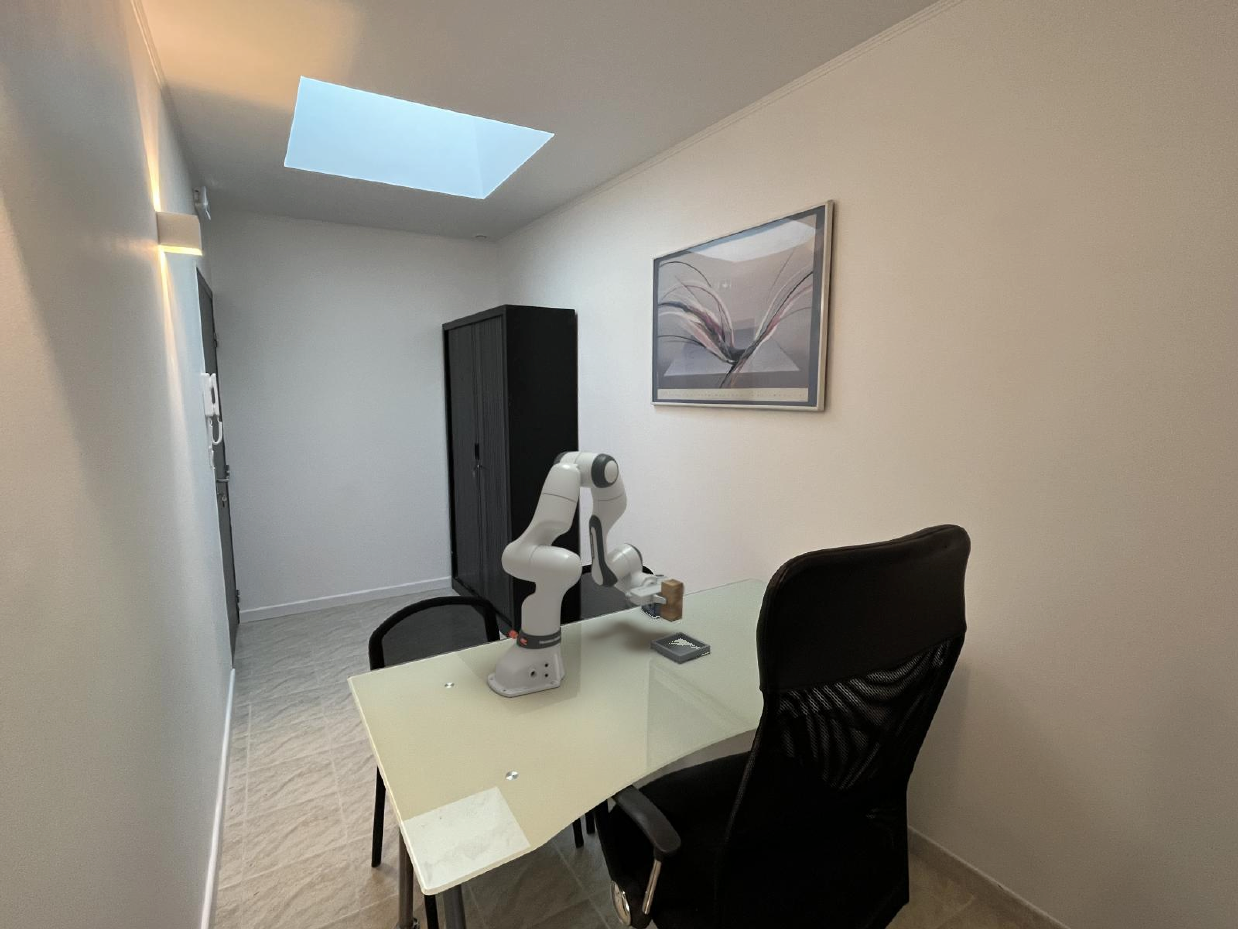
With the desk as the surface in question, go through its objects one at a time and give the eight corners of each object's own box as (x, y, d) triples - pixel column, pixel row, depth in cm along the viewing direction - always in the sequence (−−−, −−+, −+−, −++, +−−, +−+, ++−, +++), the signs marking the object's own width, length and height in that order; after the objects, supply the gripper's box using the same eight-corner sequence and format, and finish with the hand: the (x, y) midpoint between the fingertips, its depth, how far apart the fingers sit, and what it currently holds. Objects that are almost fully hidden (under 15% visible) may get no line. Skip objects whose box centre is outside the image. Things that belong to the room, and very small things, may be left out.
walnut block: (670, 622, 190) (672, 585, 188) (660, 617, 194) (661, 581, 192) (682, 618, 193) (683, 582, 191) (671, 614, 197) (672, 578, 195)
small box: (640, 609, 229) (640, 583, 228) (654, 607, 232) (655, 581, 231) (652, 619, 220) (653, 591, 219) (668, 616, 223) (669, 589, 221)
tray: (679, 664, 184) (679, 656, 184) (650, 648, 195) (650, 641, 194) (710, 653, 192) (710, 645, 192) (680, 638, 203) (681, 631, 203)
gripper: (621, 584, 195) (649, 596, 185) (667, 573, 208) (696, 584, 197) (621, 602, 196) (649, 616, 186) (667, 590, 209) (695, 602, 198)
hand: (673, 599), depth 192 cm, fingers closed on walnut block, 5 cm apart
